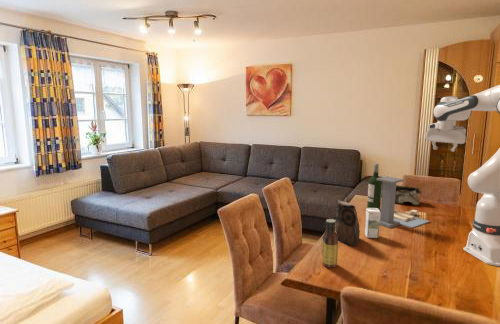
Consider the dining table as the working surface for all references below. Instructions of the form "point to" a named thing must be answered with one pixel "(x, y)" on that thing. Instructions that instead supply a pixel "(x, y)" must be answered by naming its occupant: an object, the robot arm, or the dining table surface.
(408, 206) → the dining table surface
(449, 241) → the dining table surface
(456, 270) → the dining table surface
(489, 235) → the robot arm
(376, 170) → the wine bottle
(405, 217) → the board
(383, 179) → the pedestal
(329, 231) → the sauce bottle
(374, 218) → the syrup box
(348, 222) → the black speaker
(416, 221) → the mat
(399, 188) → the hollow geode rock
